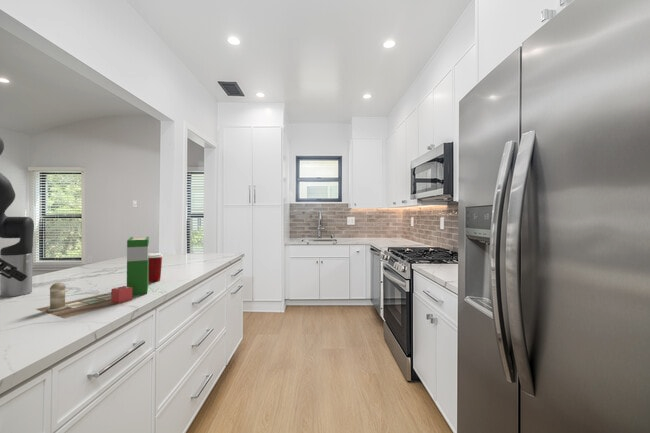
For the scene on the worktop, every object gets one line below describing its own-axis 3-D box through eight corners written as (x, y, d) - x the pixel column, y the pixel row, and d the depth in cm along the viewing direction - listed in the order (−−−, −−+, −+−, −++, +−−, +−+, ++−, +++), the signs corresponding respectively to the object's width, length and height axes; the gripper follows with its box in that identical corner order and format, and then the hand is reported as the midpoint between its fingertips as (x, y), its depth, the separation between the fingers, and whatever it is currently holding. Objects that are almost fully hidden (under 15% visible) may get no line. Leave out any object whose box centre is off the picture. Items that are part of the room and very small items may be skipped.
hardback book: (130, 286, 134) (130, 237, 134) (148, 285, 138) (148, 236, 138) (126, 296, 119) (127, 240, 119) (147, 294, 123) (147, 239, 123)
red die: (111, 301, 112) (111, 288, 112) (124, 297, 117) (124, 285, 117) (118, 303, 110) (119, 290, 110) (132, 299, 115) (132, 287, 115)
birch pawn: (43, 310, 101) (43, 283, 101) (63, 305, 106) (63, 280, 106) (51, 312, 99) (51, 285, 98) (71, 307, 104) (71, 281, 104)
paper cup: (166, 279, 149) (166, 253, 149) (152, 283, 142) (153, 255, 142) (155, 278, 152) (155, 252, 152) (141, 281, 145) (141, 254, 144)
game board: (35, 310, 102) (35, 309, 102) (104, 294, 122) (104, 293, 122) (64, 320, 94) (64, 318, 94) (133, 301, 114) (133, 299, 114)
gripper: (-13, 238, 82) (39, 270, 92) (-32, 236, 88) (19, 266, 98) (-43, 258, 77) (16, 290, 87) (-60, 255, 83) (-3, 284, 93)
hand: (18, 277), depth 93 cm, fingers open, 8 cm apart
